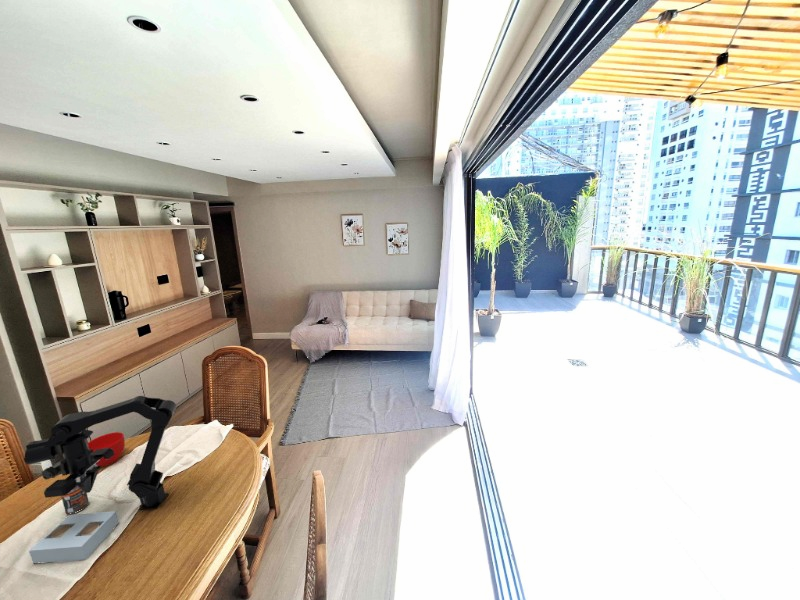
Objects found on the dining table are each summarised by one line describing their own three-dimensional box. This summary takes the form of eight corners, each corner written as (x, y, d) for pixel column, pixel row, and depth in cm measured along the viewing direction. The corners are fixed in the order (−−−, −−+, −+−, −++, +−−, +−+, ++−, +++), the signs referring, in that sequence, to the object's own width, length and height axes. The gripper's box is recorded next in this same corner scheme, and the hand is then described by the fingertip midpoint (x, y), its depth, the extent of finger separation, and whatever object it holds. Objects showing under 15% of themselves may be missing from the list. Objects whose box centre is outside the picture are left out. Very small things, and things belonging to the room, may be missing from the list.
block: (119, 523, 103) (116, 511, 102) (85, 559, 92) (81, 546, 91) (73, 527, 103) (69, 514, 102) (33, 564, 91) (28, 550, 90)
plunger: (76, 534, 99) (73, 523, 98) (63, 546, 95) (60, 535, 94) (63, 535, 99) (60, 524, 98) (50, 547, 95) (46, 536, 94)
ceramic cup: (68, 475, 126) (62, 454, 124) (116, 449, 142) (111, 430, 140) (88, 482, 122) (82, 460, 120) (135, 453, 138) (130, 434, 136)
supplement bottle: (74, 516, 107) (66, 489, 104) (61, 513, 108) (53, 487, 106) (93, 502, 112) (86, 476, 110) (81, 500, 114) (74, 474, 111)
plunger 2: (105, 532, 99) (102, 521, 98) (93, 544, 95) (90, 533, 94) (92, 533, 99) (89, 522, 98) (80, 545, 95) (77, 534, 94)
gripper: (76, 436, 108) (88, 473, 111) (17, 476, 90) (32, 519, 93) (110, 433, 109) (120, 470, 112) (57, 472, 90) (71, 515, 94)
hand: (88, 491), depth 103 cm, fingers closed
